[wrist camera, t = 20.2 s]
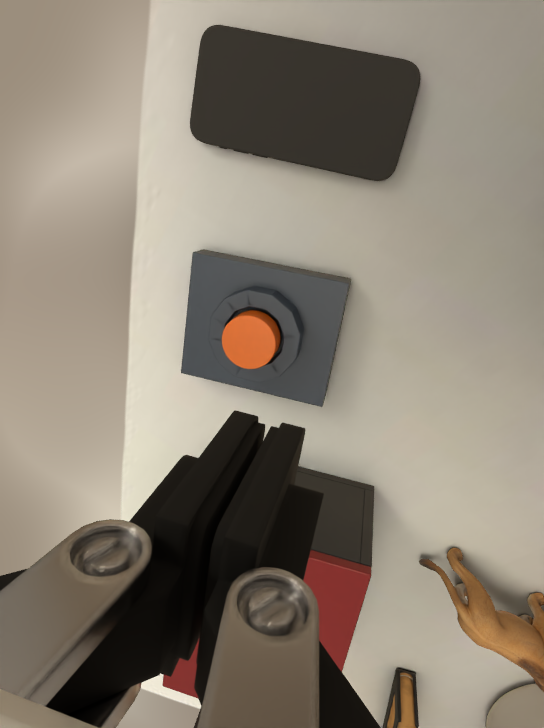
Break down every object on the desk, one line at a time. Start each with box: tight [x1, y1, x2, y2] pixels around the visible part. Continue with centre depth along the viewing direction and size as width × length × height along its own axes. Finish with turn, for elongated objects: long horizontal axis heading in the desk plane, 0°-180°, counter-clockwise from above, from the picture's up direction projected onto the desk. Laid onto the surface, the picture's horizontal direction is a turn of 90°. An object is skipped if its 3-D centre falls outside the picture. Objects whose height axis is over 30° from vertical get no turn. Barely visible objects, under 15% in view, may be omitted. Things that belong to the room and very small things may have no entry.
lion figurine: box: [419, 548, 544, 692], centre depth 38 cm, size 15×5×9 cm, turn 72°
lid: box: [163, 550, 371, 728], centre depth 34 cm, size 17×14×6 cm
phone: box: [190, 25, 420, 181], centre depth 33 cm, size 7×1×15 cm
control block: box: [181, 250, 351, 407], centre depth 37 cm, size 12×10×4 cm
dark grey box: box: [294, 467, 374, 567], centre depth 41 cm, size 17×14×10 cm
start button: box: [222, 310, 280, 369], centre depth 35 cm, size 4×4×2 cm
